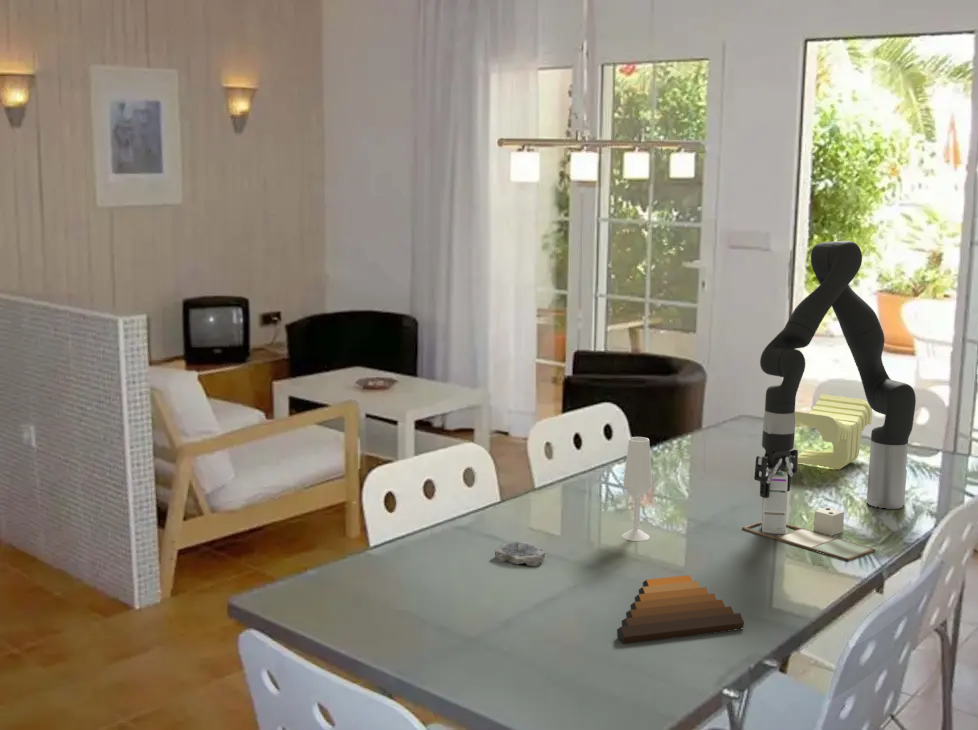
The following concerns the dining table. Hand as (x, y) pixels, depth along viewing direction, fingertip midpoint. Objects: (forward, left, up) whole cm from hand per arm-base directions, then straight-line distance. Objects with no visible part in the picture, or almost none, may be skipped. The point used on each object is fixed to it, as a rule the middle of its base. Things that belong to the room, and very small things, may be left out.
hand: (774, 494), depth 282 cm
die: (-10, +9, -9) cm, 16 cm away
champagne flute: (+30, -18, -9) cm, 36 cm away
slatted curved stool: (-66, -28, -9) cm, 72 cm away
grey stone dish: (+62, -24, -10) cm, 67 cm away
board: (0, +10, -9) cm, 13 cm away
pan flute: (+62, +17, -10) cm, 65 cm away
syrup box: (0, 0, -9) cm, 9 cm away
